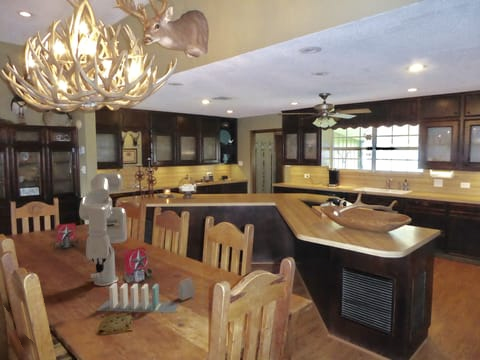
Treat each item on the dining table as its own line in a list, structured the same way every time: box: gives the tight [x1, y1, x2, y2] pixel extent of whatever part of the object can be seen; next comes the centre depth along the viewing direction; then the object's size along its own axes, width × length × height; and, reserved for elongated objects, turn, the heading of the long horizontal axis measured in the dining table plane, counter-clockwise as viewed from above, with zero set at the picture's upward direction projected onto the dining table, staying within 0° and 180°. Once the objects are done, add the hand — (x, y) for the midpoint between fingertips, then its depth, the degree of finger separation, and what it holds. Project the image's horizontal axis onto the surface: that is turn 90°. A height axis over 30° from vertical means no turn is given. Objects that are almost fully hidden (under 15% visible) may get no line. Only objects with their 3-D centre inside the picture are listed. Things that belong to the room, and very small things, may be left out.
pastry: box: [98, 312, 137, 336], centre depth 141 cm, size 17×17×3 cm
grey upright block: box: [177, 277, 195, 301], centre depth 165 cm, size 4×7×10 cm, turn 132°
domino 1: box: [108, 282, 119, 308], centre depth 156 cm, size 2×5×10 cm, turn 176°
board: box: [96, 300, 180, 314], centre depth 155 cm, size 36×10×1 cm, turn 86°
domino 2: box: [119, 282, 129, 309], centre depth 155 cm, size 2×5×10 cm, turn 176°
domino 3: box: [129, 283, 139, 309], centre depth 155 cm, size 2×5×10 cm, turn 176°
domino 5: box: [151, 283, 160, 309], centre depth 154 cm, size 2×5×10 cm, turn 176°
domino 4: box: [140, 283, 150, 309], centre depth 155 cm, size 2×5×10 cm, turn 176°
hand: (100, 271), depth 154 cm, fingers closed
